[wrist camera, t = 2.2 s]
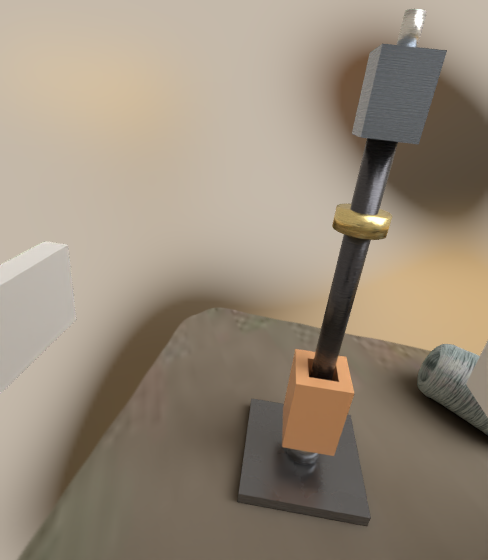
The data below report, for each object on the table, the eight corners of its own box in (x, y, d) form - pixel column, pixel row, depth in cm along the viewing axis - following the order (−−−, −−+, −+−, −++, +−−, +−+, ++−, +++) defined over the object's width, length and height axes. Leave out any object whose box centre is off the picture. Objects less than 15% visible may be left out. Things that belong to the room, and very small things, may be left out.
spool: (394, 373, 47) (453, 320, 44) (416, 375, 54) (468, 330, 51) (485, 472, 39) (565, 416, 36) (497, 460, 46) (565, 412, 43)
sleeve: (329, 415, 38) (346, 357, 35) (334, 456, 34) (354, 393, 30) (283, 408, 39) (295, 349, 35) (282, 447, 34) (296, 383, 31)
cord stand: (348, 422, 43) (473, 40, 26) (367, 526, 32) (602, -9, 15) (250, 405, 44) (309, 23, 27) (237, 501, 33) (321, -36, 16)
